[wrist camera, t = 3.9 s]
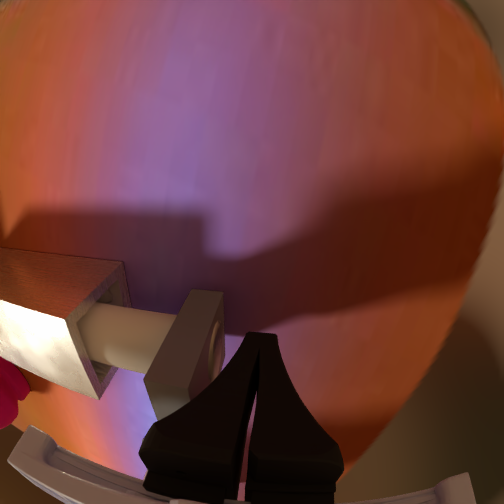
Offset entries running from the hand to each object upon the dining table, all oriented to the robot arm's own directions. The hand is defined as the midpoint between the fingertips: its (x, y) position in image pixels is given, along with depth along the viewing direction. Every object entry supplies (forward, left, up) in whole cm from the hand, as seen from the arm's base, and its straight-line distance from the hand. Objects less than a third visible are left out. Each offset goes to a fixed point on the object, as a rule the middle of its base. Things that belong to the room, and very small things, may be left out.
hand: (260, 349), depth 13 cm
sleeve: (0, +14, -2) cm, 14 cm away
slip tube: (0, +13, -1) cm, 13 cm away
